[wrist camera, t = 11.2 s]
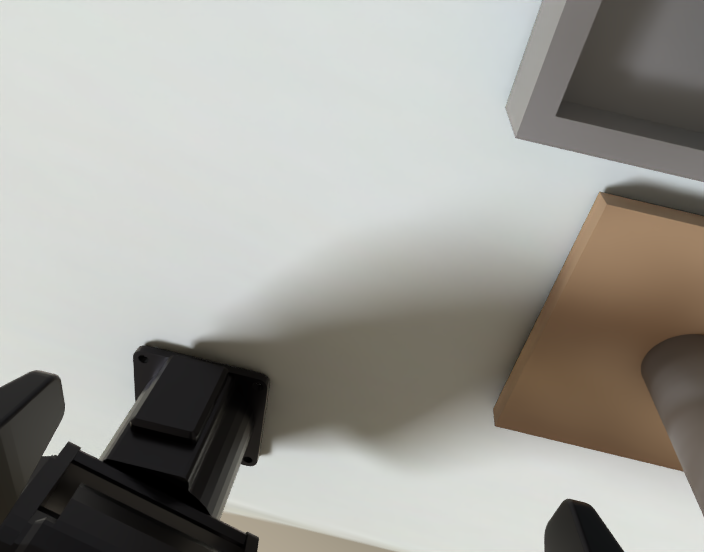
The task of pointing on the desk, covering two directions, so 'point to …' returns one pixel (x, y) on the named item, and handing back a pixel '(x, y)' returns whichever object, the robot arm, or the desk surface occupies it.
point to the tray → (616, 82)
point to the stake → (621, 342)
